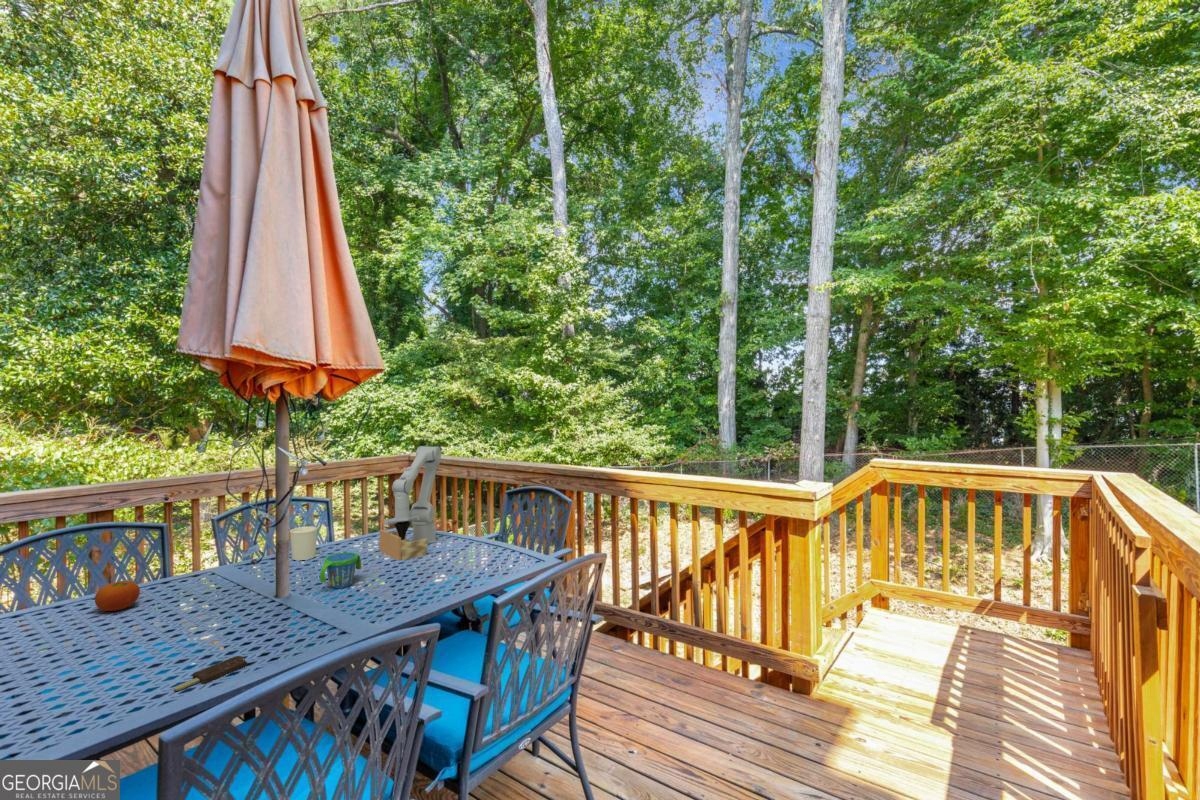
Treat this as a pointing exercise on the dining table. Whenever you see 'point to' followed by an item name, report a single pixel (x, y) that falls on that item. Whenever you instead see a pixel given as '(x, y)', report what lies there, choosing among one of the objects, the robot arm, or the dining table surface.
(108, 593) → the fruit
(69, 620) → the dining table surface
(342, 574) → the snack cup
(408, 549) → the cart bed
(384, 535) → the tailgate
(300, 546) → the candle holder
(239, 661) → the ice cream bar
